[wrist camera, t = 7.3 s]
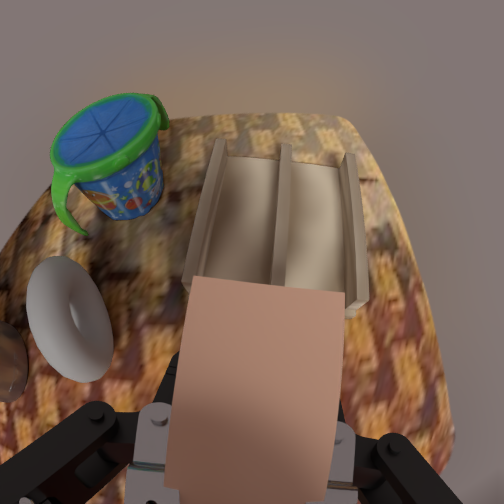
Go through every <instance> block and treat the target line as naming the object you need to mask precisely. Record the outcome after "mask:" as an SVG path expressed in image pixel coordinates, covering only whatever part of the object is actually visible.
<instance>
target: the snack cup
mask: <svg viewBox="0 0 504 504" xmlns="http://www.w3.org/2000/svg"><path fill="white" fill-rule="evenodd" d="M168 128H169V118H168V115H167V113H166V111H165V108H164V107H163V105H162V103H161V101H160V100H159V99H158V98H157V97H156V96H154V95H149V94H138V93H123V94H117V95H112V96H109V97H107V98H103V99H101V100H99V101H97V102H94V103H92V104H91V105H89V106H87V107H85V108H84V109H82V110H81V111H79V112H78V113H77V114H75V115H74V116H73V117H72V118H71V119H69V121H67V123H66V124H65V125H64V126H63V127H62V128H61V130H60V131H59V132H58V134H57V135H56V137H55V139H54V141H53V144H52V146H51V150H50V159H51V162H52V164H53V166H54V176H53V180H52V186H51V187H52V188H51V195H52V201H53V206H54V209H55V211H56V214H57V215H58V217H59V219H60V220H61V222H62V223H64V224H65V225H66V226H68V227H69V228H71V229H73V230H74V231H76V232H78V233H80V234H83V235H85V236H88V235H89V234H88V232H87V231H86V230H84V229H82V228H81V227H80V225H79V224H78V223H77V221H76V220H75V219H74V217H73V216H72V214H71V213H70V212H69V210H68V209H67V208H66V203H67V197H68V192H69V190H70V188H71V186H72V185H73V184H75V186H76V187H77V188H78V189H79V190H80V191H81V192H82V193H83V194H84V195H85V196H86V197H87V198H88V199H89V200H90V201H92V202H93V203H94V204H95V205H96V206H97V207H98V208H99V209H100V210H101V211H102V212H104V214H106V215H107V216H109V217H110V218H111V219H113V220H130V219H134V218H136V217H138V216H143V215H145V214H147V213H148V212H149V210H150V209H151V208H152V207H153V206H154V205H155V204H156V203H157V202H158V199H159V197H160V195H161V192H162V190H163V187H164V184H163V171H162V163H161V154H160V146H159V141H158V134H157V132H158V130H167V129H168Z"/></svg>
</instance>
